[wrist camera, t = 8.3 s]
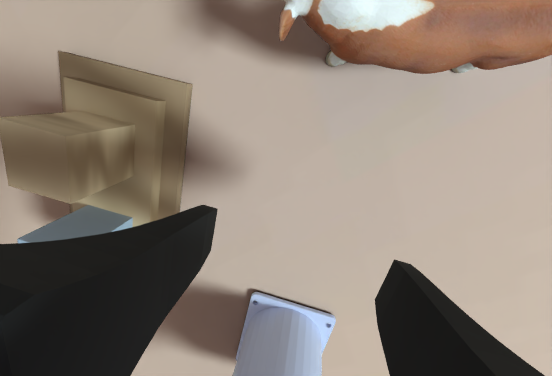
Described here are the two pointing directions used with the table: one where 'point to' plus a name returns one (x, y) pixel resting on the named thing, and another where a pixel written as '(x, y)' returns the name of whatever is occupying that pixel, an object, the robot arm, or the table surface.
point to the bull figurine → (427, 32)
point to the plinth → (148, 132)
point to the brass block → (67, 153)
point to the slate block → (80, 225)
